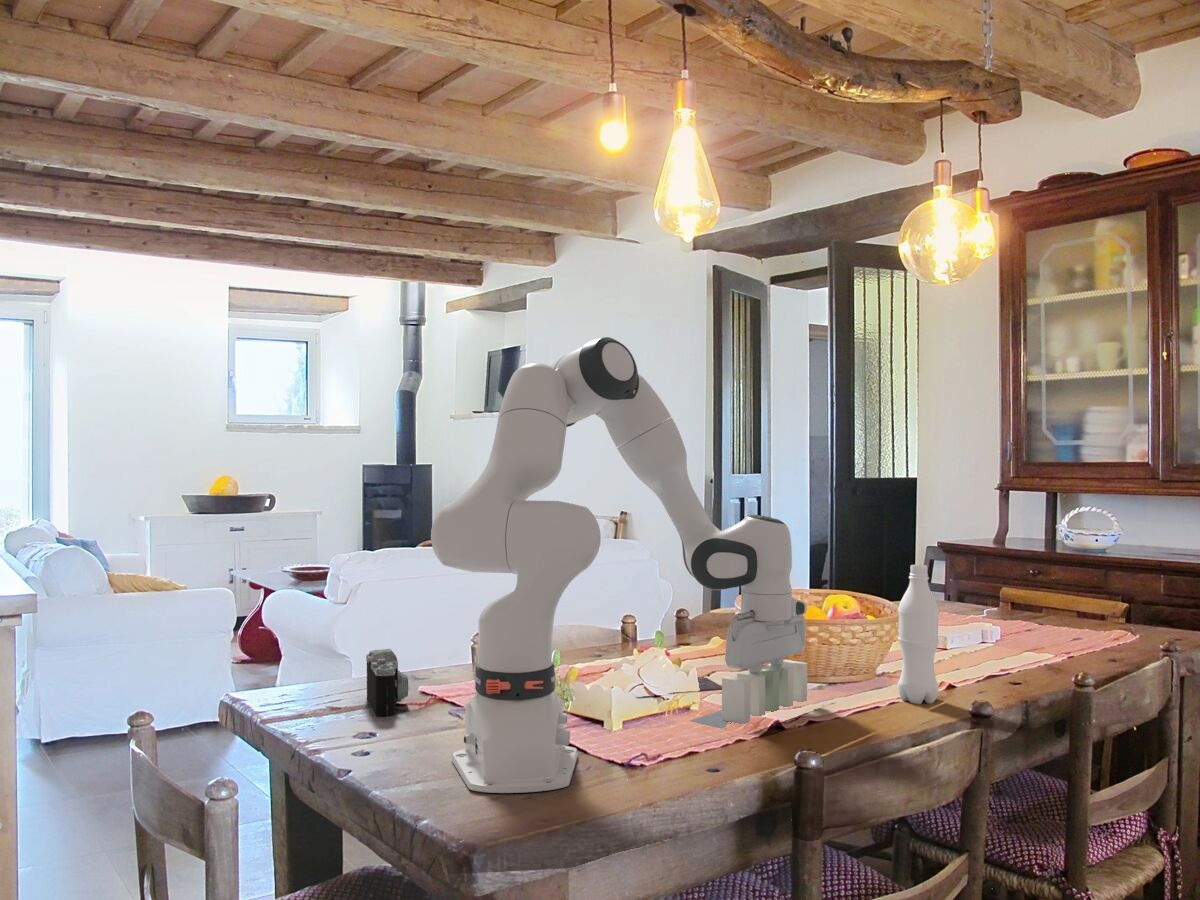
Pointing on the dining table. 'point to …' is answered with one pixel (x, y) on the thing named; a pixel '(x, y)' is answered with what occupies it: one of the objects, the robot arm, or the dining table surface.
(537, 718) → the robot arm
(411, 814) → the dining table surface
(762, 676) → the tile
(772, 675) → the tile
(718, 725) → the felt runner
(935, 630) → the water bottle
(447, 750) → the dining table surface
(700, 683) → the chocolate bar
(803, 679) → the tile
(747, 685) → the tile
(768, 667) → the tile
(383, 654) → the camera
